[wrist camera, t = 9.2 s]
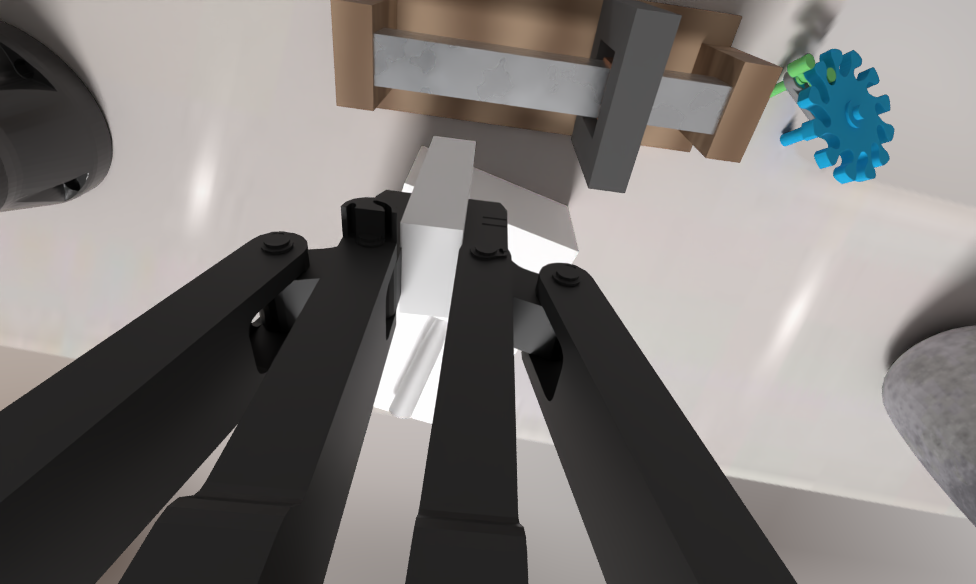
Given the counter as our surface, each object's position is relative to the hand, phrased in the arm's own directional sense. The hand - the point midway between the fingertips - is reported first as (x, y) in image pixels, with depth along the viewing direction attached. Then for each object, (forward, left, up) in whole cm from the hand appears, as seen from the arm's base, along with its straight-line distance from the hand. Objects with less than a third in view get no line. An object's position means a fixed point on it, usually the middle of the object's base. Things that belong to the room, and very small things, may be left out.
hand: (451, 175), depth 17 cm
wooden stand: (+5, 0, -24) cm, 25 cm away
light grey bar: (+5, 0, -19) cm, 20 cm away
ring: (+9, 0, -22) cm, 24 cm away
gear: (+27, +1, -25) cm, 37 cm away
